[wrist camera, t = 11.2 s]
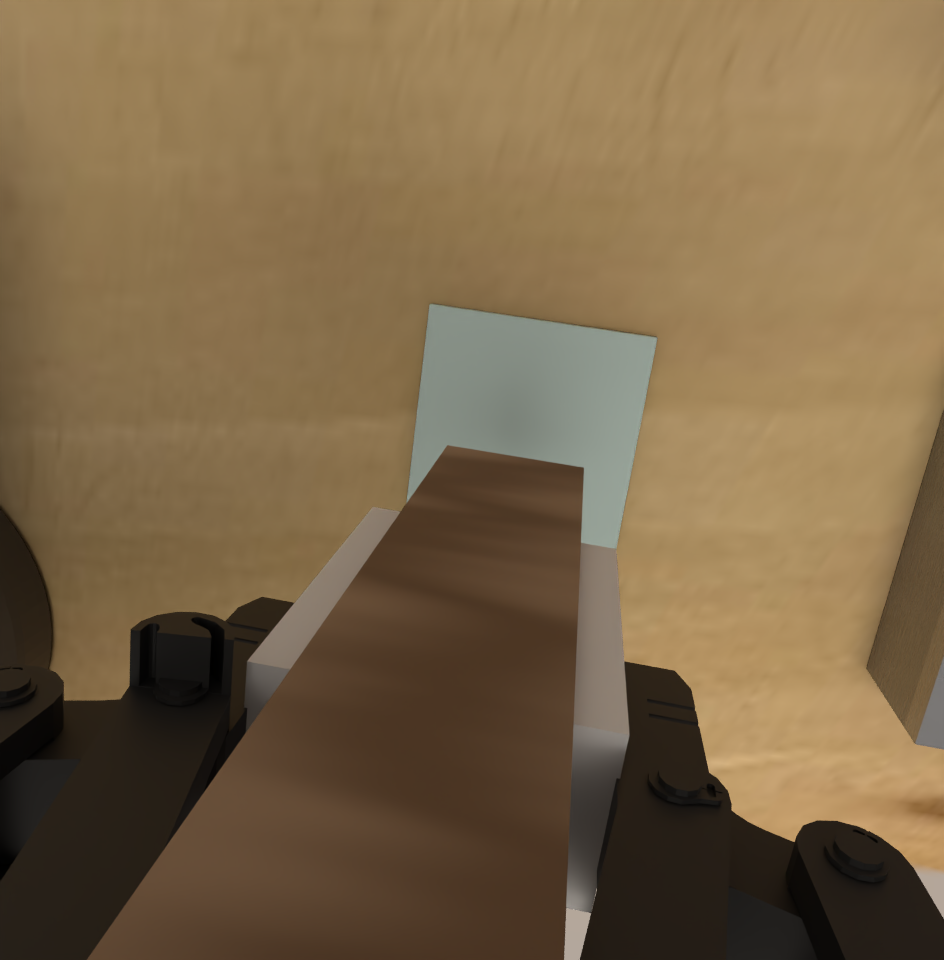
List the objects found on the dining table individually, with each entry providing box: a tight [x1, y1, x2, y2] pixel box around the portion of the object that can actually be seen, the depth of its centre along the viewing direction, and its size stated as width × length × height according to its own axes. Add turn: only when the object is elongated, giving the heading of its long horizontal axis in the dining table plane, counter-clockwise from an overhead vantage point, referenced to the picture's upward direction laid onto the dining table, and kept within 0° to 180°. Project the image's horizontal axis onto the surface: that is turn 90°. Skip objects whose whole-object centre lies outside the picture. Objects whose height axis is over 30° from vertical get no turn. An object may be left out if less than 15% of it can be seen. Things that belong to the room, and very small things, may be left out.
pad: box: [407, 303, 657, 549], centre depth 31 cm, size 8×8×1 cm
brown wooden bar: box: [87, 445, 584, 960], centre depth 13 cm, size 3×3×18 cm
